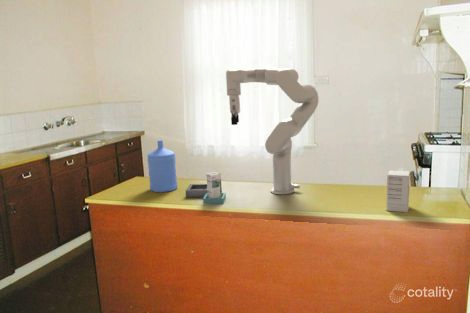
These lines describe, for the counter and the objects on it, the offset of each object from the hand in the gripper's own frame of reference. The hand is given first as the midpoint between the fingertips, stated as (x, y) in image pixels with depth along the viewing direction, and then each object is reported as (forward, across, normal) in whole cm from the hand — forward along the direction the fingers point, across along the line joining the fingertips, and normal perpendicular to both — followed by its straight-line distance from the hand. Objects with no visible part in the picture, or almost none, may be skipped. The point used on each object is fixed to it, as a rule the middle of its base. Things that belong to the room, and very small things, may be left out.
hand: (235, 123), depth 240 cm
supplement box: (+36, -43, -77) cm, 95 cm away
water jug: (+36, -2, +43) cm, 56 cm away
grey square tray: (+36, -14, +20) cm, 44 cm away
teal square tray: (+36, -26, +10) cm, 46 cm away
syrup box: (+36, -26, +10) cm, 46 cm away
